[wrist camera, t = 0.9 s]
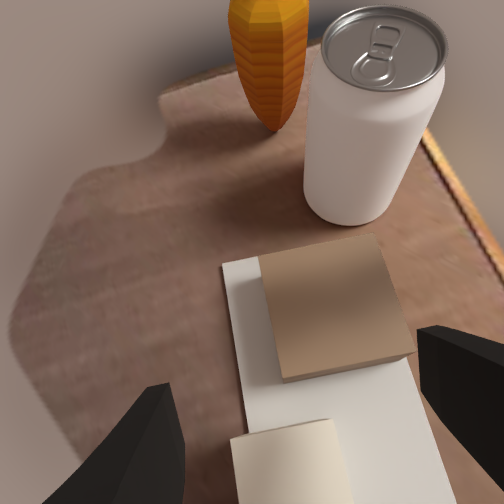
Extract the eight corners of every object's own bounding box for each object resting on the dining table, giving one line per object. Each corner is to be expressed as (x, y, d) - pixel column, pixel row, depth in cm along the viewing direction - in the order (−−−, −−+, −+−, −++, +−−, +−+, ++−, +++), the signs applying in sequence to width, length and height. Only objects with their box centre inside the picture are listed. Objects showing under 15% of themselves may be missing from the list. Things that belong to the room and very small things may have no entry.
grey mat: (454, 505, 20) (457, 506, 19) (267, 542, 20) (267, 544, 19) (362, 237, 26) (364, 234, 26) (222, 265, 26) (221, 263, 26)
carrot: (237, 117, 32) (198, -110, 18) (292, 99, 32) (295, -138, 18) (255, 161, 30) (226, -57, 16) (314, 143, 30) (335, -88, 16)
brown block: (398, 360, 22) (416, 351, 19) (283, 384, 23) (282, 378, 19) (363, 255, 25) (374, 232, 22) (261, 276, 25) (257, 255, 22)
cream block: (343, 511, 20) (364, 546, 14) (259, 527, 20) (248, 569, 14) (321, 418, 22) (333, 418, 16) (244, 434, 22) (230, 439, 16)
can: (291, 214, 28) (292, 80, 17) (317, 146, 30) (334, -11, 19) (379, 240, 26) (444, 111, 15) (400, 166, 28) (470, 9, 17)
